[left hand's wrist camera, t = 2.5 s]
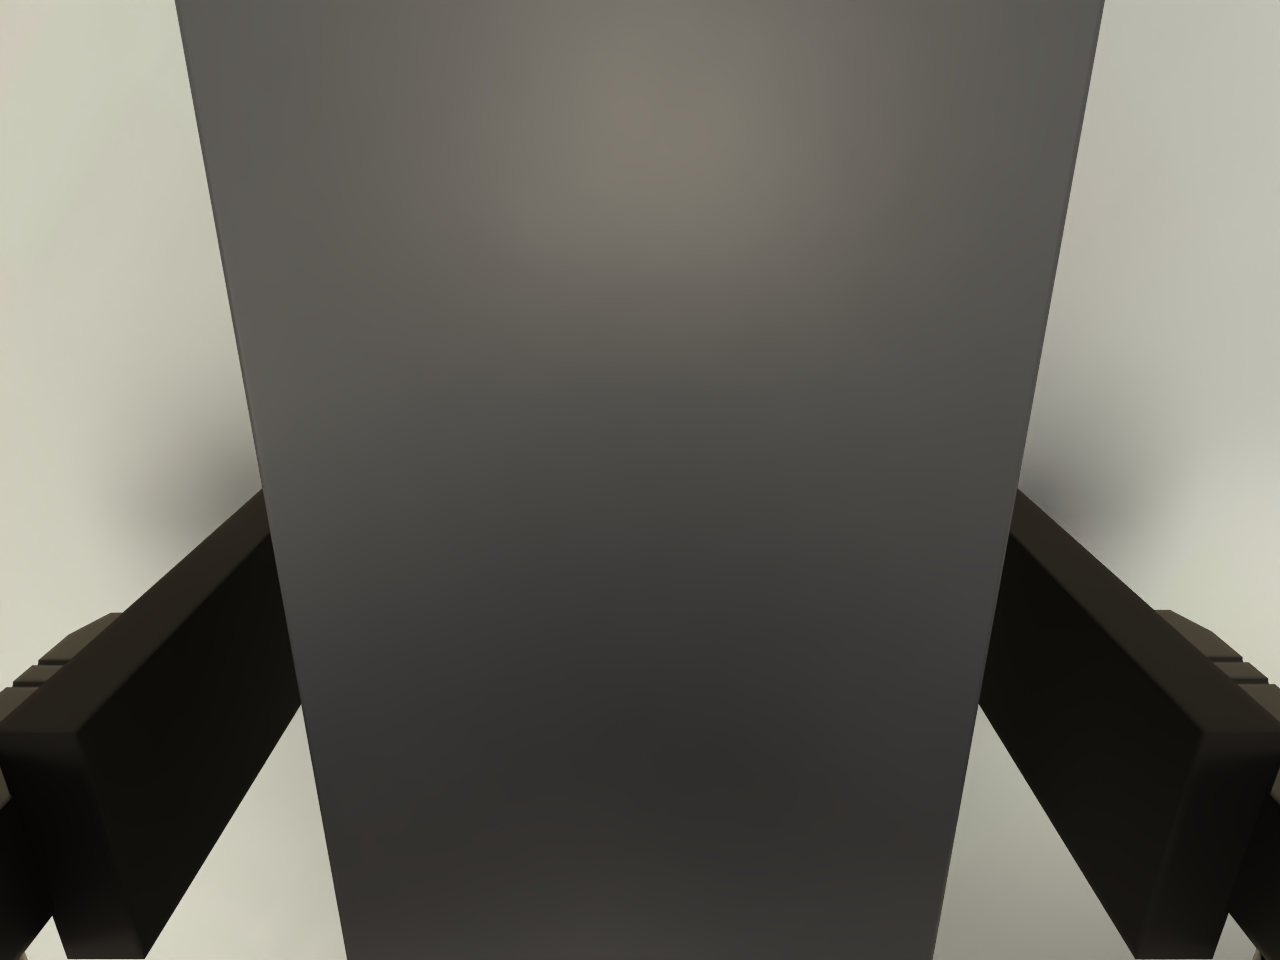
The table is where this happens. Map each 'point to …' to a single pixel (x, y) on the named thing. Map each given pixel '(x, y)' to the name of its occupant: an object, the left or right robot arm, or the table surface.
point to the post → (639, 443)
